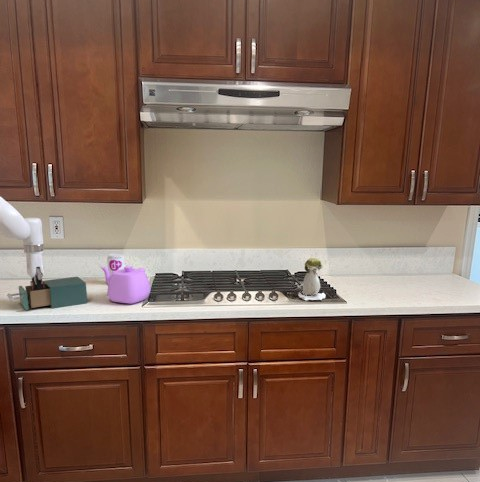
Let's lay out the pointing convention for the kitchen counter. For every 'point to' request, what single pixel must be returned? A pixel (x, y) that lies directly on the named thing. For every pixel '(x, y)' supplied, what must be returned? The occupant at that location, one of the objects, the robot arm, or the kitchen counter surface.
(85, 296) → the cabinet
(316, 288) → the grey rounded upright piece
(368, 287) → the kitchen counter surface
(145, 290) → the teapot
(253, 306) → the kitchen counter surface
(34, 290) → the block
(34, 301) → the drawer
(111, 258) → the supplement can
